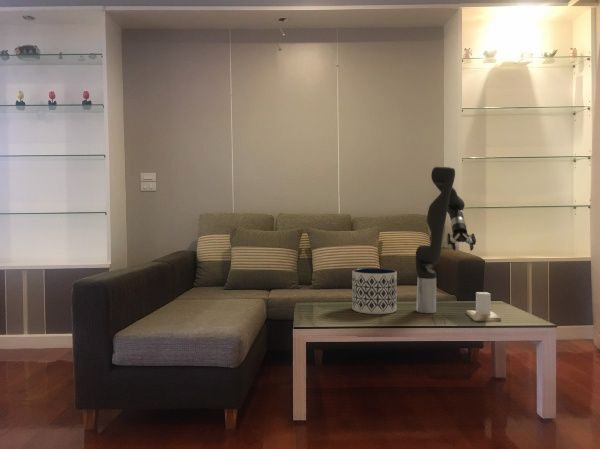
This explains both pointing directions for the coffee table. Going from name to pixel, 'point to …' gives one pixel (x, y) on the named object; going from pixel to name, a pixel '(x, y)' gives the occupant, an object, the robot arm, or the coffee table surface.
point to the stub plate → (483, 316)
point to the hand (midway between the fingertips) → (463, 249)
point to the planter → (374, 290)
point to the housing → (483, 303)
